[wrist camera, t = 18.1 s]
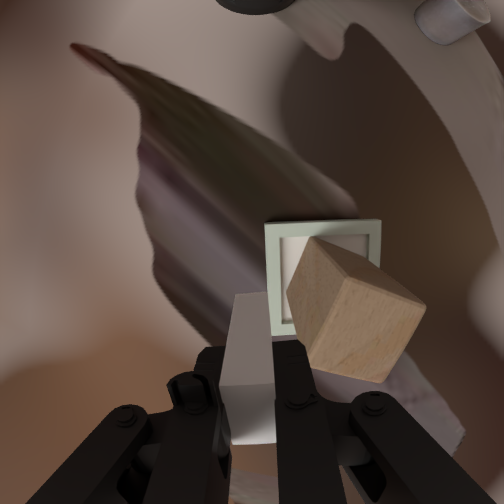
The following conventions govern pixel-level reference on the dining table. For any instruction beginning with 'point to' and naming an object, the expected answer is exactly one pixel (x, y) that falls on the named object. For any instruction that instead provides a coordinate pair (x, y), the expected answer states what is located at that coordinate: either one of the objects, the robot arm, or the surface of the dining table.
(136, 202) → the dining table surface
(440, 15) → the pillar candle
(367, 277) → the wooden block
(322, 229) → the square tray
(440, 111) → the dining table surface
